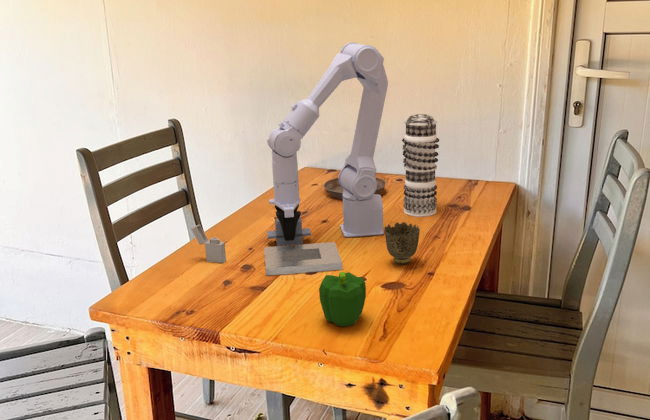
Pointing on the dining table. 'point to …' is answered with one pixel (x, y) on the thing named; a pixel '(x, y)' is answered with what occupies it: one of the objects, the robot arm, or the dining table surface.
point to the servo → (280, 237)
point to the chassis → (302, 258)
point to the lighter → (210, 246)
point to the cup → (402, 241)
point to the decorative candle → (420, 165)
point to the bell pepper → (342, 298)
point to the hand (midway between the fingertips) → (289, 236)
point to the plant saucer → (337, 190)
